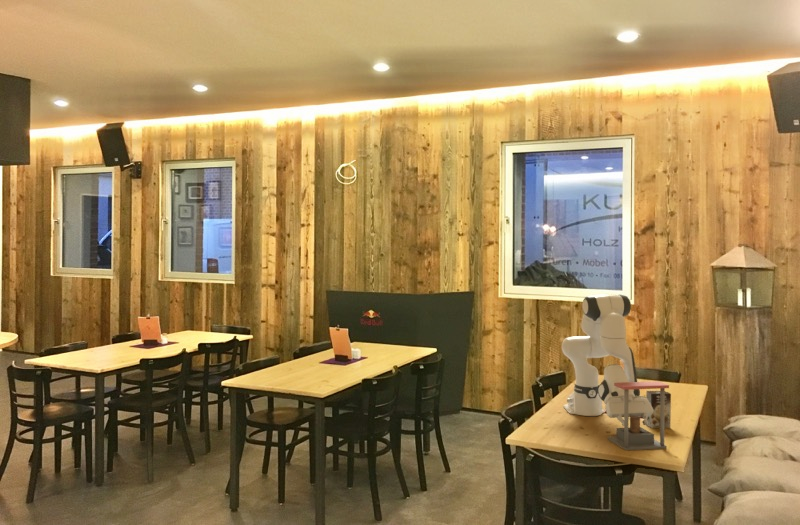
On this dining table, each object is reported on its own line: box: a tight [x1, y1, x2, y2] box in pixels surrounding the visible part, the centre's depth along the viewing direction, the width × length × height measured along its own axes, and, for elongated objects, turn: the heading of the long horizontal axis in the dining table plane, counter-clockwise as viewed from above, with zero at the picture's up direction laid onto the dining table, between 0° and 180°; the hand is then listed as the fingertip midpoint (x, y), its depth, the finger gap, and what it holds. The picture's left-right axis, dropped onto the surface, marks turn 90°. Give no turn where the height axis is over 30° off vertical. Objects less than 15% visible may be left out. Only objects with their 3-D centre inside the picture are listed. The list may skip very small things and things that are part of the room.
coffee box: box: [645, 390, 672, 429], centre depth 286 cm, size 9×6×16 cm
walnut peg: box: [629, 416, 641, 433], centre depth 261 cm, size 4×4×10 cm
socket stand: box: [607, 380, 670, 451], centre depth 260 cm, size 16×20×26 cm
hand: (635, 424), depth 260 cm, fingers open, 8 cm apart
